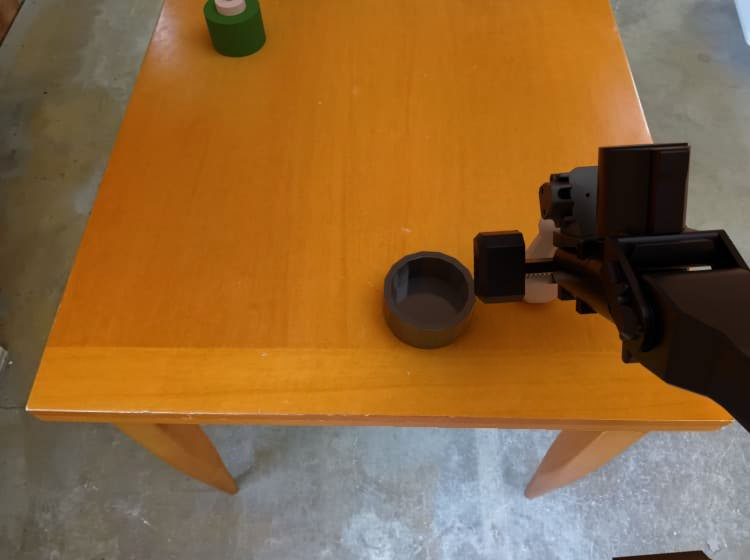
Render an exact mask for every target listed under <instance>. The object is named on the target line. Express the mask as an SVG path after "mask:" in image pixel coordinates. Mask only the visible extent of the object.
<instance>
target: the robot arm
mask: <svg viewBox="0 0 750 560" xmlns="http://www.w3.org/2000/svg"><path fill="white" fill-rule="evenodd" d="M691 152H692V145H689V142H656V143H655V142H654V143H636V144H619V145H605V146H598V147H597V165H588V166H587V165H586V166H585V165H584V166H577V167H573V168H572V169H571V170H570V171H569V172H566V171H565V172H559V173H550V175H549V181H545V182H543V183H542V184H541V185H540V186H539V188H538V201H539V212H540V218H541V217H542V218H543V219H544V220H553V221H554V225H555V228H560V231H553V246H555V247H558V248H557V249H556V251H555V253H554V256H553V258H538V259H525V251H526V241H525V237H524V234H523V232H522V231H519V230H518V229H515V230H514V229H512V230H494V231H480V232H478V233H477V234H475V236H474V237H473V239H472V248H473V279H474V294H475V295H476V298H477V299H478V300H479V301H480V302H482V303H483V304H484V305H495V304H509V303H523V302H524V296H525V286H532V285H547V284H558V294H557V297H556V298H557V299H558V300H560V302H566V301H567V302H568V301H575V312H576V313H577V314H579V315H580V316H581V315H582V316H583V315H596V314H597V315H600V316H602V317H603V318H605V319H606V320H607V321H609V322H610V323H612V324H613V325H615V327H616V330H617V331H618V338H619V340H620V341H621V361H622V363H623V364H625V365H629V364H630V365H631V364H640V365H641V366H642V367H644V369H646V370H647V371H649V372H650V373H651V374H653V375H654V376H655V377H656V378H658V379H659V380H661V381H662V382H663V383H665V384H666V385H668V386H671V387H674V388H677V389H681V390H683V391H685V392H689V393H692V394H695V395H698V396H701V397H704V398H707V399H709V400H711V401H712V402H714V403H715V404H716V405H718V406H719V407H721V408H722V409H724V411H726V412H727V413H728V414H729V415H730V416H731V417H732V418H733V419H734V420H735V421H736V423H738V424H739V425H740V426H741V427H742V428H743V429H744V430H745V431H746V432H748V433H749V434H750V267H749V265H748V264H747V261H746V260H745V259H744V258H743V256H742V255H741V253H740V252H739V250H738V248H737V246H736V245H735V244H734V242H733V241H732V239H731V237H730V236H729V235H728V233H727V232H726V230H725V229H724V228H723V229H722V228H721V229H706V230H705V229H704V230H698V229H694V228H690V227H688V226H687V211H688V198H689V197H688V196H689V181H690V168H691V167H690V166H691V154H692V153H691ZM704 267H705V268H707V267H710V268H708V269H693V268H704ZM690 269H693V270H690ZM550 272H551V273H550ZM535 273H537V275H535ZM539 273H541V276H540V274H539ZM543 273H546V274H545V275H544V274H543ZM548 273H550V275H549V274H548ZM526 274H528V277H527V275H526ZM530 274H533V275H532V277H531V275H530ZM611 560H713V559H712V558H710V557H709V556H708V555H707V554H706V552H704V551H703V550H702V549H698V550H697V549H696V550H684V551H673V552H661V553H650V554H649V553H647V554H638V555H637V554H635V555H626V556H624V555H623V556H613V557H611Z"/></svg>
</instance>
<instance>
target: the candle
mask: <svg viewBox="0 0 750 560" xmlns="http://www.w3.org/2000/svg"><path fill="white" fill-rule="evenodd" d="M261 9H262V8H261V4H260V1H259V0H207V1H206V2H205V4H204V5H203V9H202V11H203V16H204V19H205V24H206V27H207V30H208V33H209V37H210V41H211V44H212V47H213V49H214V50H215V51H216V52H217V53H218V54H220V55H222V56H225V57H229V58H243V57H248V56H250V55H254V54H255V53H257V52H258V51H260V50H261V49H262V48H263V47H264V45H266V40H267V36H266V30H265V25H264V20H263V16H262V10H261Z"/></svg>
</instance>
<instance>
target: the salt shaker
mask: <svg viewBox="0 0 750 560" xmlns="http://www.w3.org/2000/svg"><path fill="white" fill-rule="evenodd" d="M537 227H538V233H537V234H536V236H535V238H534V239H533V240H532V241H531V243H530V244H529V245H528V247H527V248H525V259H538V258H553V256H554V253H555V251H556V249H557V248H558V247H555V246H553V231H560V228H555V225H554V221H553V220H544V219H543V218H542V217H541V216H540V218H539V220H538V224H537ZM550 273H551V272H550ZM550 273H548V274H549V275H550ZM539 274H540V276H541V273H539ZM543 274H544V275H545V274H546V273H543ZM526 275H527V277H528V274H526ZM530 275H531V277H532V275H533V274H530ZM535 275H537V273H535ZM557 294H558V284H547V285H532V286H525V296H524V299H523V301H524V302H526V303H527V304H547V303H549V302H552V301H554V300H556V298H557Z"/></svg>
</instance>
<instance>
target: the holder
mask: <svg viewBox="0 0 750 560" xmlns="http://www.w3.org/2000/svg"><path fill="white" fill-rule="evenodd" d="M382 291H383V293H382V298H383V299H382V313H383V317H384V320H385V323H386V326H387V327H388V329H389V330H390V332H391V333H392V334H393V335H394V336H395V337H396V338H397V339H398V340H399V341H401V342H403V344H405V345H408V346H411V347H413V348H416V349H422V350H435V349H441V348H444V347H447V346H450V345H452V344H453V343H455V342H456V341H457V340H458V339H460V338H461V337H462V336H463V334H464V333H465V331H466V330H467V328H468V326H469V323H470V321H471V319H472V316H473V312H474V309H475V306H476V302H477V296H476V295H475V294H474V276H473V275H472V274H471V271H470V269H469V268H468V267H467V266H466V265H464V264H463V263H462V262H461V261H460V260H459V259H457V258H456V257H454V256H452V255H449V254H446V253H444V252H441V251H430V250H429V251H428V250H422V251H421V250H420V251H417V252H414V253H413V252H412V253H410V254H406V255H404V256H403V257H401V258H400V259H399V260H397V261H396V262H394V264H392V265H391V267H390V268H389V270H388V271H387V273H386V275H385V277H384V280H383V290H382Z"/></svg>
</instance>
